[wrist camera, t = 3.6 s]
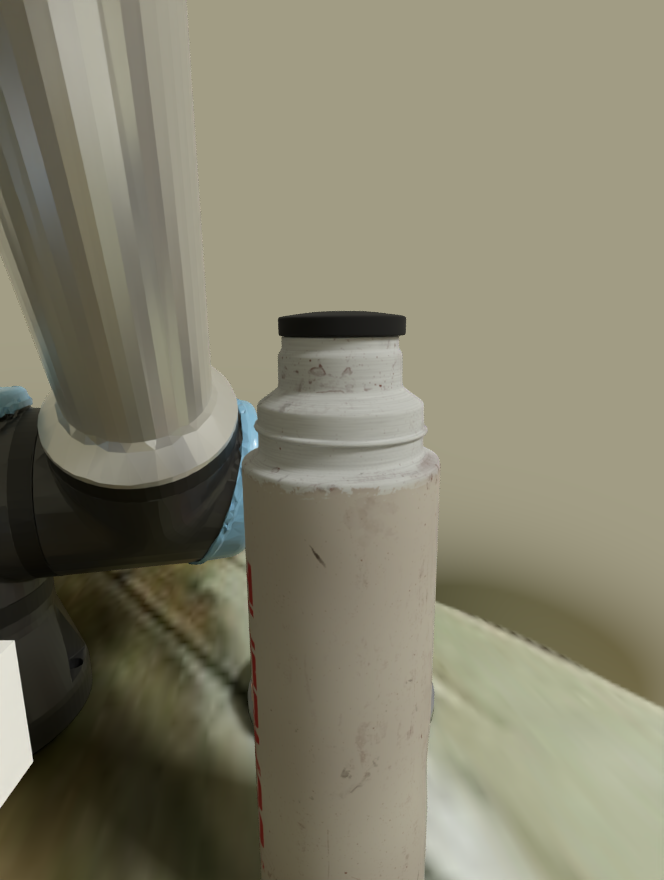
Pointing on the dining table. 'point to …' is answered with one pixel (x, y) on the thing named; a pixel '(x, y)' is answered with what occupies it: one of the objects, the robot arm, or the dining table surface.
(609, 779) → the dining table surface
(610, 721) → the dining table surface
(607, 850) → the dining table surface
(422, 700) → the thermos bottle
